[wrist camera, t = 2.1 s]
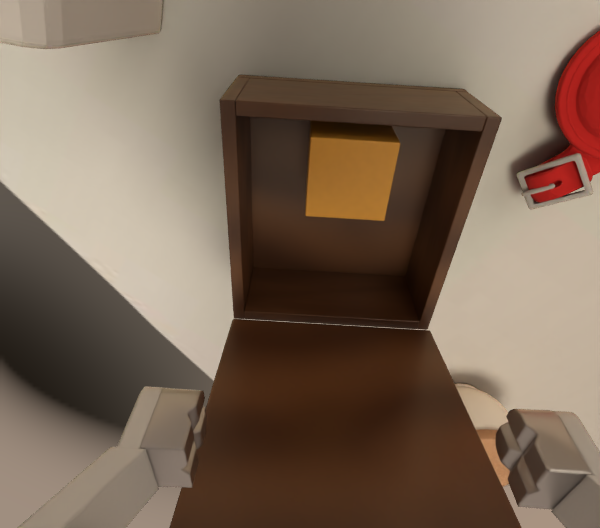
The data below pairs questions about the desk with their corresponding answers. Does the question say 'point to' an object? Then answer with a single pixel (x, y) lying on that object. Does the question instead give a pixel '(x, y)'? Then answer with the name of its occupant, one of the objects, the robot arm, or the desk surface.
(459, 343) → the desk surface
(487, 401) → the trinket box
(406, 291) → the chest
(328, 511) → the lid
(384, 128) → the block
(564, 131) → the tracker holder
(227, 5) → the desk surface
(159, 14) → the handheld gaming console
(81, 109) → the desk surface
